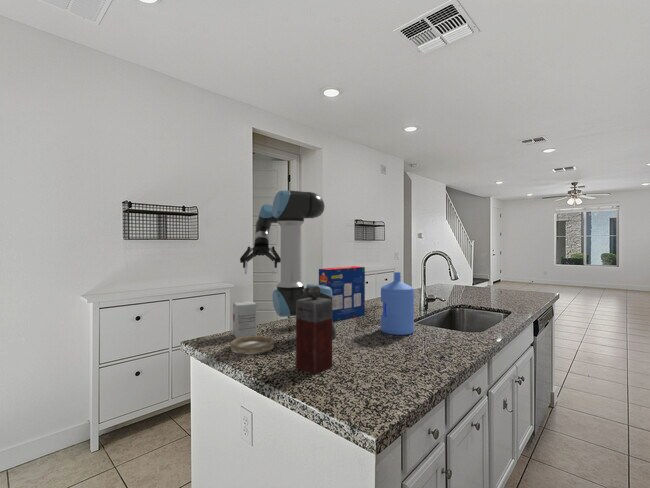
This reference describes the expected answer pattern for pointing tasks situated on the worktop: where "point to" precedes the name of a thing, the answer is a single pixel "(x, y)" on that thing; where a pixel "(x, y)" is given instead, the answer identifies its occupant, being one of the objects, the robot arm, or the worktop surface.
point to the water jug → (397, 307)
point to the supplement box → (244, 319)
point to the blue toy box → (345, 291)
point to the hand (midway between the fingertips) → (259, 272)
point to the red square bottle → (314, 332)
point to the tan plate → (252, 344)
